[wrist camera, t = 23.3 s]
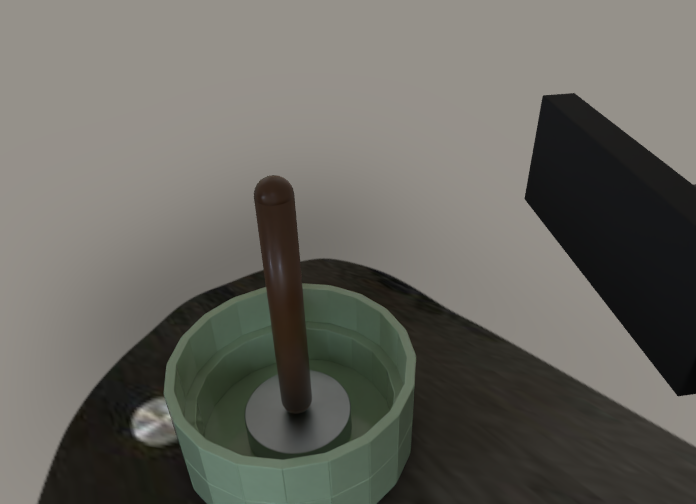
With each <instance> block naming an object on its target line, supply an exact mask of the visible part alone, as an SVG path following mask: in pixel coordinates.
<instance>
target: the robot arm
mask: <svg viewBox="0 0 696 504" xmlns="http://www.w3.org/2000/svg"><path fill="white" fill-rule="evenodd" d="M525 200H526V201H527V203H528V204H529V205H530V206H531V208H532V209H533V210H534V212H535V213H536V214H537V215H538V217H539V218H540V219H541V221H542V222H543V223H544V224H545V226H546V227H547V228H548V230H549V231H550V232H551V233H552V235H553V236H554V237H555V239H556V240H557V241H558V243H559V244H560V245H561V246H562V248H563V249H564V250H565V252H566V253H567V254H568V255H569V257H570V258H571V259H572V261H573V262H574V263H575V264H576V266H577V267H578V268H579V270H580V271H581V272H582V273H583V275H584V276H585V277H586V278H587V280H588V281H589V282H590V283H591V285H592V286H593V288H594V289H595V290H596V291H597V293H598V294H599V295H600V297H601V298H602V299H603V300H604V302H605V303H606V304H607V306H608V307H609V308H610V310H611V311H612V312H613V313H614V315H615V316H616V317H617V319H618V320H619V321H620V322H621V324H622V325H623V326H624V328H625V329H626V330H627V331H628V333H629V334H630V335H631V337H632V338H633V339H634V340H635V342H636V343H637V344H638V346H639V347H640V348H641V349H642V351H643V352H644V353H645V355H646V356H647V357H648V358H649V360H650V361H651V362H652V363H653V365H654V366H655V367H656V369H657V370H658V371H659V373H660V374H661V375H662V376H663V378H664V379H665V380H666V382H667V383H668V384H669V385H670V387H671V388H672V389H673V391H674V392H675V393H676V394H677V396H683V395H690V394H696V185H692V184H691V183H690V182H689V181H687V180H686V179H685V178H683V177H682V176H681V175H680V174H678V173H677V172H676V171H674V170H673V169H672V168H670V167H669V166H668V165H667V164H665V163H664V162H663V161H661V160H660V159H659V158H658V157H656V156H655V155H654V154H652V153H651V152H650V151H648V150H647V149H646V148H645V147H643V146H642V145H641V144H639V143H638V142H637V141H636V140H634V139H633V138H631V137H630V136H629V135H628V134H626V133H625V132H624V131H622V130H621V129H620V128H619V127H617V126H616V125H615V124H613V123H612V122H611V121H610V120H608V119H607V118H606V117H604V116H603V115H602V114H601V113H599V112H598V111H596V110H595V109H594V108H593V107H591V106H590V105H589V104H588V103H586V102H585V101H584V100H582V99H581V98H580V97H578V96H577V95H576V94H574V93H573V94H572V93H571V94H557V95H544V96H543V98H542V104H541V109H540V115H539V121H538V126H537V132H536V138H535V143H534V148H533V155H532V160H531V165H530V171H529V177H528V183H527V188H526V194H525Z"/></svg>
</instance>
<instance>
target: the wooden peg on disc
mask: <svg viewBox="0 0 696 504" xmlns="http://www.w3.org/2000/svg"><path fill="white" fill-rule="evenodd" d="M254 201H255V208H256V216H257V223H258V231H259V238H260V245H261V253H262V260H263V267H264V275H265V283H266V290H267V298H268V305H269V312H270V320H271V327H272V335H273V342H274V350H275V357H276V364H277V372H278V374H277V375H275V376H273V377H271V378H269V379H267V380H266V381H264V382H263V383H262V384H261V385H259V386H258V387H257V388H256V389H255V391H254V392H253V393H252V395H251V396H250V398H249V400H248V402H247V405H246V408H245V414H244V415H245V424H246V429H247V435H248V440H249V444H250V447H251V449H252V451H253V452H254V454H255V455H256V456H257V457H262V458H271V459H281V460H285V459H291V458H297V457H303V456H309V455H315V454H321V453H326V452H328V451H330V450H333V449H335V448H337V447H339V446H341V445H343V444H345V443H348V441H349V439H350V435H351V429H352V422H351V403H350V398H349V396H348V393H347V392H346V390H345V389H344V387H343V386H342V385H341V384H340V383H339V382H338V381H337V380H335V379H334V378H333V377H331V376H329V375H327V374H324V373H322V372H318V371H313V370H310V367H309V356H308V344H307V333H306V322H305V311H304V299H303V288H302V277H301V266H300V256H299V243H298V232H297V222H296V211H295V199H294V191H293V188H292V186H291V184H290V183H289V182H288V181H287V180H286V179H284V178H282V177H280V176H274V175H272V176H267V177H265V178H263V179H262V180H260V181H259V183H258V184H257V186H256V188H255V191H254Z"/></svg>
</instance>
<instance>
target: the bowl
mask: <svg viewBox="0 0 696 504" xmlns="http://www.w3.org/2000/svg"><path fill="white" fill-rule="evenodd" d="M302 288H303V299H304V311H305V322H306V333H307V344H308V356H309V367H310V370H313V371H318V372H322V373H324V374H327V375H329V376H331V377H333V378H334V379H335V380H337V381H338V382H339V383H340V384H341V385H342V386H343V387H344V389H345V390H346V392H347V393H348V396H349V398H350V403H351V422H352V429H351V435H350V439H349V441H348V443H345V444H343V445H341V446H339V447H337V448H335V449H333V450H330V451H328V452H326V453H321V454H315V455H309V456H303V457H297V458H291V459H285V460H281V459H271V458H262V457H257V456H256V455H255V454H254V452H253V451H252V449H251V447H250V444H249V440H248V435H247V429H246V424H245V415H244V414H245V408H246V405H247V402H248V400H249V398H250V396H251V395H252V393H253V392H254V391H255V389H256V388H257V387H258V386H259V385H261V384H262V383H263V382H264V381H266V380H267V379H269V378H271V377H273V376H275V375H277V374H278V372H277V364H276V357H275V350H274V342H273V335H272V327H271V320H270V312H269V305H268V298H267V290H266V287H265V288H261V289H258V290H255V291H252V292H249V293H246V294H243V295H240V296H237V297H234V298H232V299H230V300H228V301H227V302H225V303H223V304H221V305H220V306H218V307H216V308H215V309H213V310H211V311H209V312H208V313H206V314H205V315H203V316H202V317H201V318H200V319H199V320H198V321H197V322H196V323H195V324H194V325H193V326H192V327H191V328H190V329H189V330H188V331H187V332H186V333H185V334H184V335H183V336H182V337H181V338H180V340H179V342H178V344H177V346H176V348H175V350H174V351H173V353H172V355H171V357H170V359H169V361H168V363H167V365H166V375H165V384H164V397H165V401H166V404H167V407H168V410H169V414H170V417H171V420H172V424H173V427H174V430H175V433H176V437H177V440H178V443H179V447H180V450H181V453H182V457H183V460H184V463H185V466H186V469H187V471H188V474H189V477H190V480H191V483H192V486H193V488H194V490H195V491H196V492H197V493H198V495H199V496H200V497H201V498H202V499H203V500H204V501H205V502H206V503H207V504H377V503H378V502H379V501H380V500H381V499H382V498H383V497H384V496H385V495H386V494H387V493H388V492H389V491H390V490H391V489H392V488H393V487H394V486H395V484H396V482H397V481H398V479H399V477H400V475H401V472H402V470H403V468H404V466H405V464H406V462H407V459H408V457H409V455H410V452H411V439H412V422H413V405H414V388H415V370H416V354H415V352H414V349H413V346H412V344H411V341H410V339H409V336H408V333H407V331H406V329H405V328H404V327H403V326H402V325H401V324H400V323H399V322H398V321H397V320H396V318H395V317H394V316H393V315H392V314H391V313H390V312H389V311H388V310H387V309H386V308H384V307H383V306H381V305H379V304H377V303H376V302H374V301H372V300H371V299H369V298H367V297H365V296H364V295H362V294H359V293H356V292H352V291H349V290H345V289H342V288H338V287H335V286H330V285H319V284H304V283H302Z"/></svg>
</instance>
